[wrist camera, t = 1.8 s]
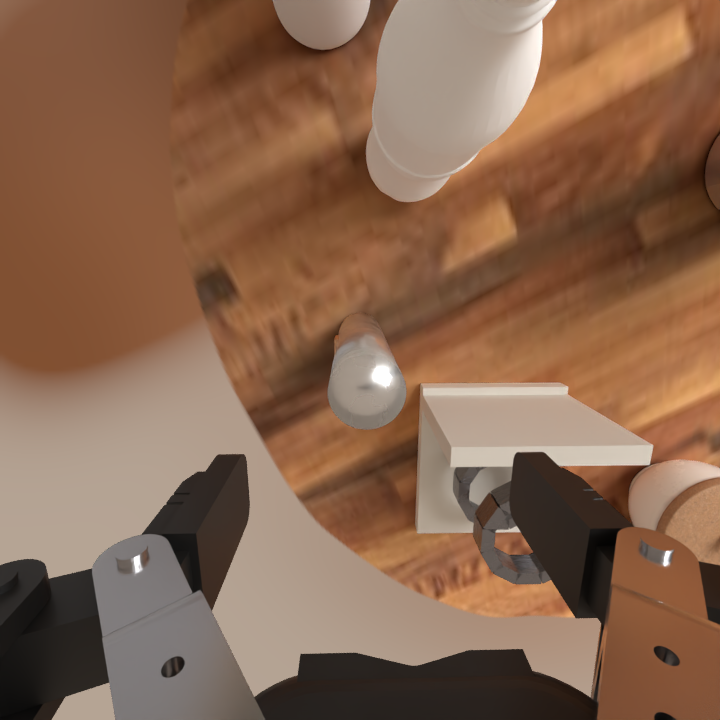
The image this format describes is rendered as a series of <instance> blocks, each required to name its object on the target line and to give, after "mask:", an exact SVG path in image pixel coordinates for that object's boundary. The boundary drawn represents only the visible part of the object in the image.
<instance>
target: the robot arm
mask: <svg viewBox="0 0 720 720" xmlns="http://www.w3.org/2000/svg"><path fill="white" fill-rule="evenodd" d="M705 182H706V188H707V191H708V194H709V197H710V199H711V200H712V202H713V204H714V205H715V206H716V207H717V208H718V209H719V210H720V134H719V136H718V137H717V139H716V140H715V142H714V144H713V146H712V148H711V150H710V152H709V155H708V159H707V162H706V170H705ZM509 505H510V512H511V515H512V518H513V521H514V522H515V524H516V525H517V527H518V529H519V530H520V532H521V533H522V535H523V536H524V538H525V540H526V541H527V543H528V544H529V546H530V547H531V549H532V550H533V552H534V554H535V555H536V557H537V558H538V560H539V561H540V563H541V564H542V566H543V568H544V569H545V571H546V572H547V574H548V575H549V577H550V579H551V580H552V582H553V583H554V585H555V586H556V588H557V589H558V591H559V593H560V594H561V596H562V597H563V599H564V600H565V602H566V604H567V605H568V607H569V608H570V610H571V611H572V613H573V614H574V616H575V618H598V619H599V621H600V622H601V628H600V633H599V641H598V647H597V655H596V662H595V669H594V677H593V685H592V692H591V698H590V697H589V696H587V695H586V694H584V693H583V692H581V691H579V690H577V689H576V688H574V687H572V686H570V685H568V684H566V683H564V682H562V681H560V680H558V679H555V678H553V677H550V676H547V675H544V674H541V673H538V672H534V671H532V669H531V667H530V665H529V663H528V660H527V658H526V656H525V654H524V651H523V649H511V650H469V651H465V652H462V653H458V654H455V655H452V656H448V657H445V658H442V659H439V660H436V661H432V662H429V663H426V664H422V665H418V666H410V665H405V664H400V663H396V662H392V661H388V660H384V659H380V658H375V657H371V656H367V655H363V654H358V653H327V654H301V656H300V663H299V671H298V675H297V676H294V677H291V678H288V679H286V680H283V681H281V682H279V683H277V684H275V685H273V686H271V687H269V688H268V689H266V690H264V691H262V692H261V693H259V694H258V695H257V696H255V697H254V696H253V694H252V692H251V690H250V688H249V686H248V684H247V682H246V680H245V678H244V676H243V674H242V672H241V669H240V667H239V665H238V664H237V661H236V659H235V657H234V655H233V653H232V651H231V649H230V647H229V645H228V643H227V641H226V639H225V637H224V635H223V633H222V631H221V629H220V627H219V625H218V623H217V621H216V619H215V617H214V615H213V613H212V609H213V607H214V604H215V601H216V599H217V597H218V594H219V592H220V589H221V587H222V584H223V582H224V579H225V577H226V574H227V572H228V569H229V567H230V565H231V562H232V560H233V557H234V555H235V552H236V550H237V547H238V545H239V542H240V540H241V537H242V535H243V532H244V530H245V527H246V525H247V521H248V517H249V506H250V501H249V487H248V474H247V461H246V457H245V455H244V454H229V455H228V454H226V455H217V456H216V457H215V459H214V460H213V462H212V463H211V464H210V466H209V467H208V469H207V470H206V472H197V473H195V474H194V475H192V476H191V477H189V478H188V479H186V480H185V481H183V482H182V483H181V485H180V486H179V487H178V489H177V490H176V491H175V492H174V495H172V496H171V498H170V499H169V500H168V502H167V504H166V505H164V506H163V508H162V509H161V510H160V512H159V513H158V514H157V515H156V517H155V518H154V519H153V521H152V522H151V523H150V524H149V526H148V527H147V528H146V530H145V531H144V532H143V533H142V535H138V536H134V537H131V538H128V539H125V540H123V541H121V542H118V543H117V544H115V545H113V546H111V547H110V548H108V549H107V550H106V551H104V552H103V553H102V554H101V555H100V556H99V557H98V558H97V560H96V561H95V563H94V565H93V568H92V569H88V570H85V571H81V572H76V573H72V574H67V575H63V576H59V577H55V578H51V579H49V578H48V573H47V569H46V566H45V564H44V563H43V562H41V561H39V560H34V559H24V560H17V561H13V562H10V563H5V564H3V565H0V720H52V718H53V716H54V715H55V713H56V711H57V709H58V708H59V706H60V705H61V703H62V701H63V699H64V698H65V697H66V696H69V695H72V694H75V693H78V692H81V691H84V690H87V689H90V688H93V687H96V686H100V685H103V684H106V683H110V689H111V695H112V702H113V708H114V714H115V720H720V565H716V564H711V563H705V562H700V561H698V559H697V557H696V556H695V554H694V553H693V552H692V551H691V550H690V549H689V548H688V547H686V546H685V545H684V544H682V543H681V542H679V541H677V540H676V539H674V538H672V537H670V536H668V535H665V534H663V533H660V532H657V531H654V530H651V529H646V528H640V527H634V526H633V525H632V524H631V523H630V522H629V521H628V520H627V519H626V518H624V517H623V516H622V515H621V514H620V513H619V512H618V511H617V510H616V509H615V508H614V507H612V506H611V505H610V504H609V503H608V502H607V501H606V500H603V497H602V496H600V495H599V494H598V493H597V492H596V491H593V488H592V487H591V486H590V485H588V484H587V483H586V482H585V481H584V480H583V479H582V478H581V477H579V476H577V475H575V474H573V473H571V472H570V471H568V470H566V469H564V468H560V467H559V466H558V465H557V464H556V463H555V462H554V461H553V460H552V459H551V458H550V457H549V456H548V455H547V454H546V453H544V452H517V453H516V454H515V456H514V459H513V467H512V477H511V487H510V497H509Z"/></svg>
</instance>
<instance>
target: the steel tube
mask: <svg viewBox="0 0 720 720" xmlns="http://www.w3.org/2000/svg"><path fill="white" fill-rule="evenodd" d="M405 399H406V384H405V381H404V378H403V376H402V373H401V371H400V369H399V367H398V365H397V363H396V360H395V358H394V356H393V354H392V352H391V350H390V348H389V345H388V343H387V341H386V339H385V337H384V335H383V332H382V330H381V328H380V326H379V324H378V322H377V321H376V320H375V319H374V318H373V317H372V316H371V315H368V314H366V313H354V314H352V315H350V316H348V317H347V318H346V319H345V320H344V321H343V322H342V324H341V326H340V329H339V335H335V338H334V360H333V365H332V370H331V375H330V380H329V385H328V400H329V404H330V406H331V408H332V410H333V412H334V413H335V415H336V416H337V417H338V418H339V419H340V420H341V421H342V422H344V423H345V424H347V425H349V426H351V427H354V428H357V429H365V430H368V429H376V428H379V427H382V426H384V425H386V424H388V423H390V422H391V421H392V420H393V419H395V418H396V416H397V415H398V414H399V413H400V411H401V410H402V408H403V406H404V403H405Z"/></svg>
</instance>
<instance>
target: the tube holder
mask: <svg viewBox="0 0 720 720" xmlns="http://www.w3.org/2000/svg"><path fill="white" fill-rule="evenodd" d="M652 450H653V445H652V444H650V443H649V442H647V441H645V440H644V439H642V438H640V437H638V436H637V435H635V434H633V433H632V432H630V431H628V430H627V429H625V428H623V427H622V426H620V425H618V424H617V423H615V422H613V421H611V420H610V419H608V418H606V417H605V416H603V415H601V414H600V413H598V412H596V411H595V410H593V409H591V408H590V407H588V406H586V405H584V404H583V403H581V402H579V401H578V400H576V399H574V398H573V397H571V396H569V395H568V386H566V385H564V384H562V383H560V382H552V383H420V410H419V436H418V462H417V488H416V515H415V526H416V530H417V534H420V533H473V525H474V523H473V522H471V521H469V520H468V519H467V517H466V516H465V514H464V512H463V510H462V509H461V507H460V505H459V504H458V501H457V499H456V497H455V495H454V493H453V476H454V472H455V471H454V470H455V468H456V467H486V468H484V469H482V470H480V471H479V473H478V474H477V475H476V477H475V478H474V480H473V481H472V483H471V484H470V492H469V500H470V501H472V502H474V503H475V504H477V505H480V504H481V503H482V501H483V500H484V498H485V497H486V496H487V494H488V493H489V492H490V493H491V490H493V489H495V488H497V487H499V486H501V485H503V484H505V483H507V482H509V481H511V477H512V467H513V459H514V456H515V454H516V453H517V452H544V453H546V454H547V455H548V456H549V457H550V458H551V459H552V460H553V461H554V462H555V463H556V464H557V465H558V466H610V465H650V460H651V455H652ZM496 532H520V530H519V529H518V527H517V526H516V527H514V528H511V529H510V528H509V530H496Z"/></svg>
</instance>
